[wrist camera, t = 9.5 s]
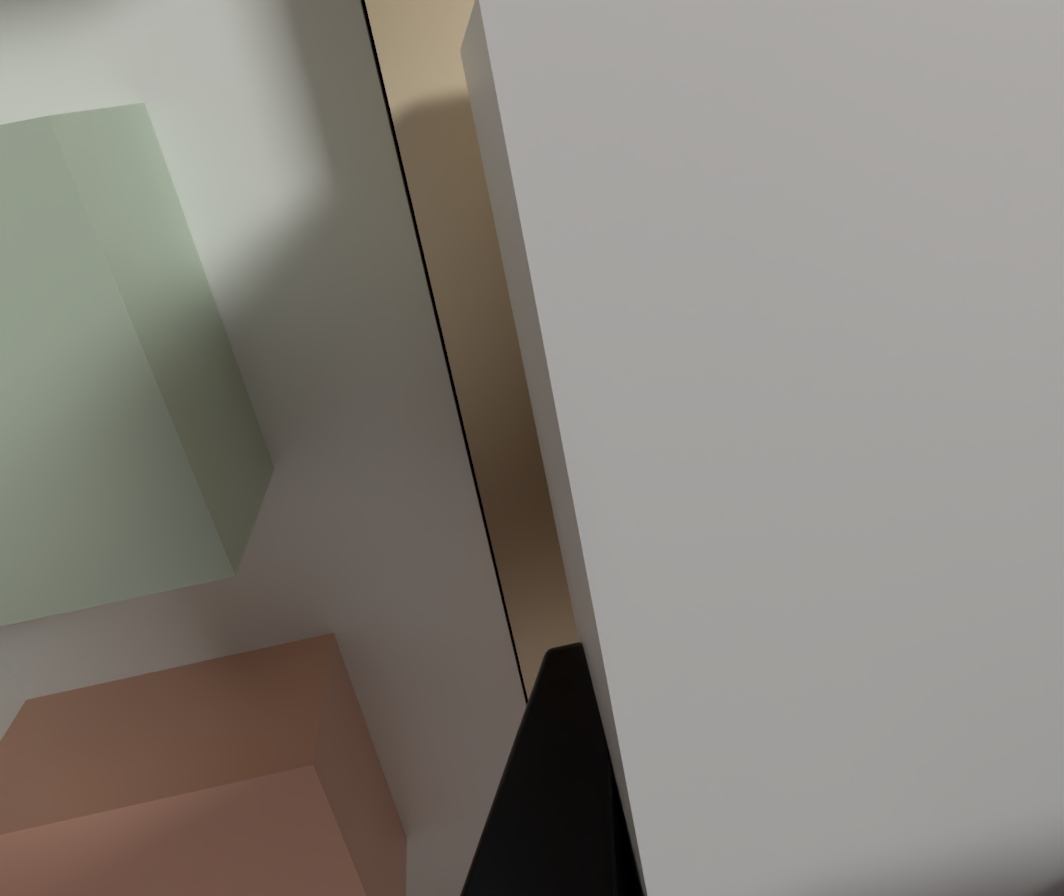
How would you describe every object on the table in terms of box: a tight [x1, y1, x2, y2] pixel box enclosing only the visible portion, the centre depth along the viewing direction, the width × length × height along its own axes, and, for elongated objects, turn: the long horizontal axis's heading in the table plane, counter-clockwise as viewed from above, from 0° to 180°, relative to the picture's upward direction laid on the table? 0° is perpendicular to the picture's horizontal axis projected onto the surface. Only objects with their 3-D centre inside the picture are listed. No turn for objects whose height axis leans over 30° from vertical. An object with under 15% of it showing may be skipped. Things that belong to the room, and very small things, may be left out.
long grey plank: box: [460, 0, 1064, 896], centre depth 7 cm, size 12×2×5 cm, turn 10°
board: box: [365, 0, 579, 700], centre depth 11 cm, size 17×12×2 cm
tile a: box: [0, 633, 407, 896], centre depth 12 cm, size 4×4×2 cm
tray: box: [0, 0, 527, 896], centre depth 10 cm, size 18×8×3 cm, turn 10°
